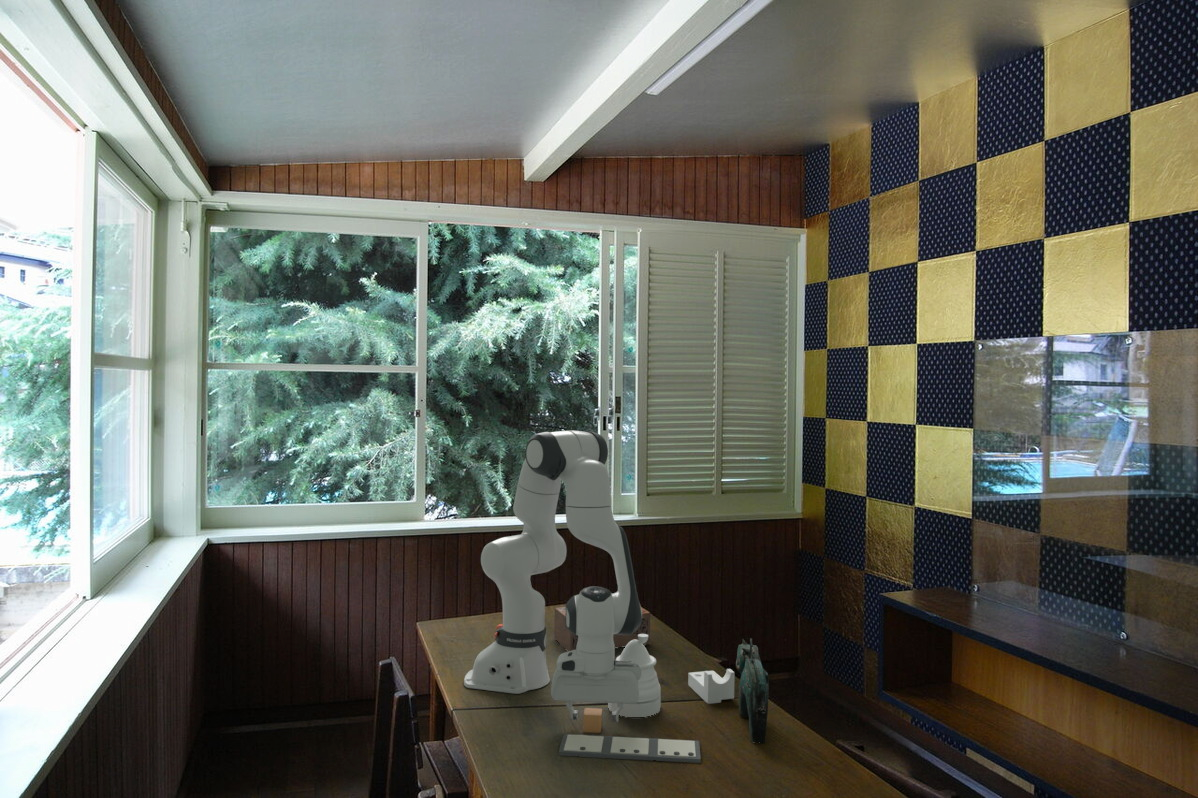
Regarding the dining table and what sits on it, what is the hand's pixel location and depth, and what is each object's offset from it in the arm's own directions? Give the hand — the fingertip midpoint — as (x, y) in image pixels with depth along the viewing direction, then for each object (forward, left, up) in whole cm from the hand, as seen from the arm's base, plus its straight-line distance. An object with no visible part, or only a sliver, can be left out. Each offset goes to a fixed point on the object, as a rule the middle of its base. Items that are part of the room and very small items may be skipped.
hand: (594, 720), depth 189 cm
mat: (+9, -10, -2) cm, 13 cm away
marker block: (0, 0, -2) cm, 2 cm away
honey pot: (+9, +13, -2) cm, 16 cm away
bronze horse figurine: (+37, +5, -2) cm, 37 cm away
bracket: (+28, +25, -2) cm, 38 cm away
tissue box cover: (-3, +63, -2) cm, 63 cm away
